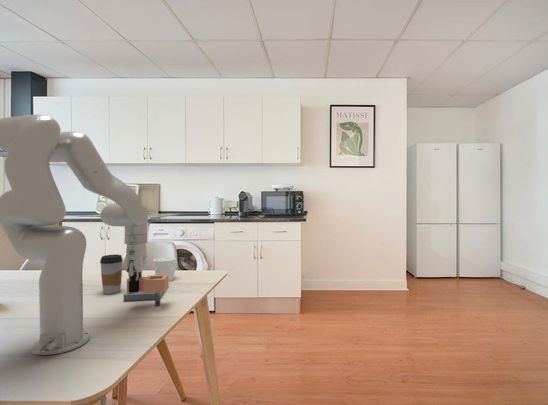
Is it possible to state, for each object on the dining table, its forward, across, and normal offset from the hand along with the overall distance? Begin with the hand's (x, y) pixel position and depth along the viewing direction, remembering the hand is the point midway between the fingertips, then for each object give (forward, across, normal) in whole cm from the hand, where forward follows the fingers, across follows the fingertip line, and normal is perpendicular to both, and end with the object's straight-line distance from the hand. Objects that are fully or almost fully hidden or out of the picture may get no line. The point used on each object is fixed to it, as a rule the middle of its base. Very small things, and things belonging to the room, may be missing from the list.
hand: (135, 290), depth 108 cm
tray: (+6, +16, 0) cm, 17 cm away
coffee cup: (+6, +20, +15) cm, 25 cm away
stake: (+6, +1, -7) cm, 10 cm away
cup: (+5, +36, -3) cm, 36 cm away
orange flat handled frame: (0, 0, -4) cm, 4 cm away
